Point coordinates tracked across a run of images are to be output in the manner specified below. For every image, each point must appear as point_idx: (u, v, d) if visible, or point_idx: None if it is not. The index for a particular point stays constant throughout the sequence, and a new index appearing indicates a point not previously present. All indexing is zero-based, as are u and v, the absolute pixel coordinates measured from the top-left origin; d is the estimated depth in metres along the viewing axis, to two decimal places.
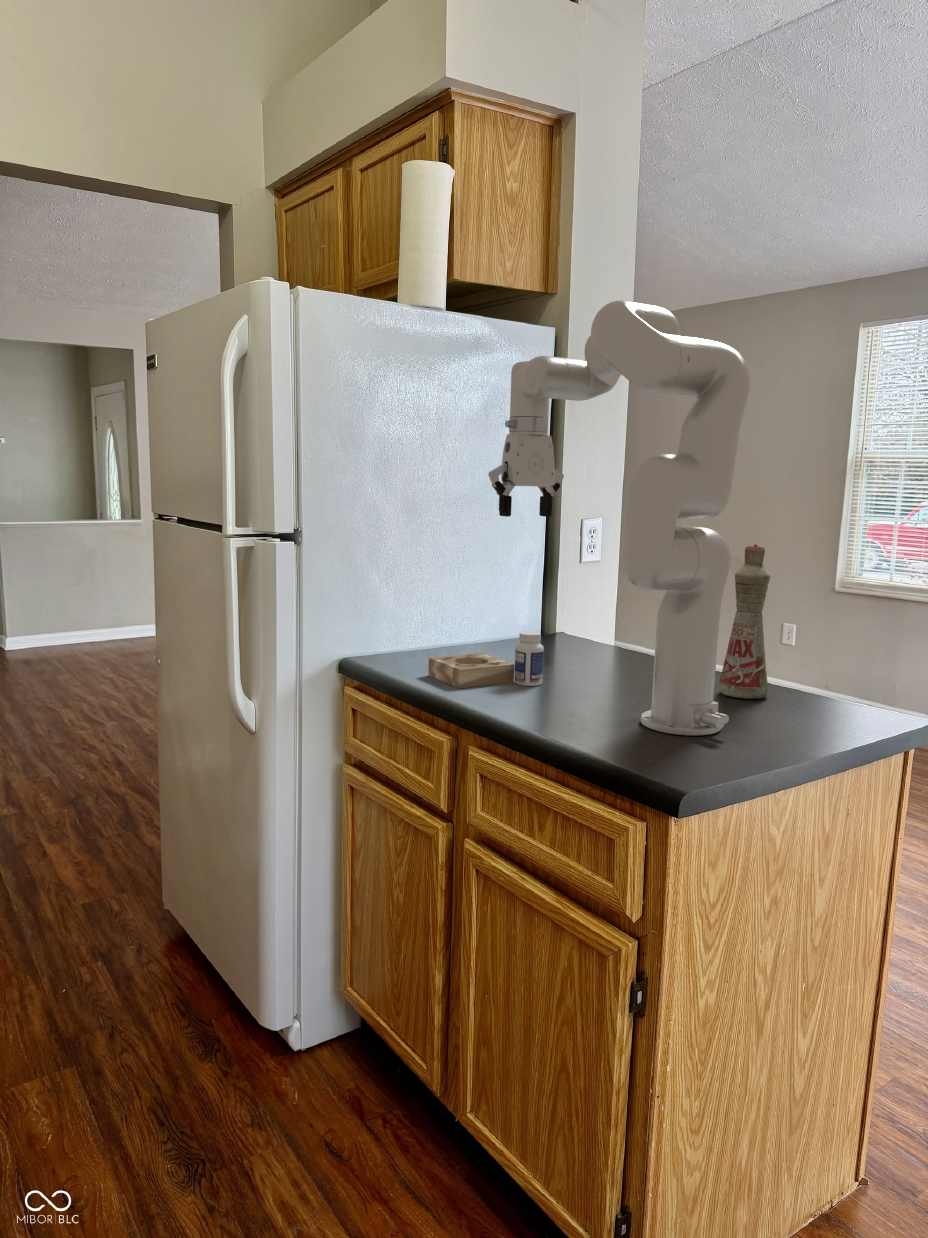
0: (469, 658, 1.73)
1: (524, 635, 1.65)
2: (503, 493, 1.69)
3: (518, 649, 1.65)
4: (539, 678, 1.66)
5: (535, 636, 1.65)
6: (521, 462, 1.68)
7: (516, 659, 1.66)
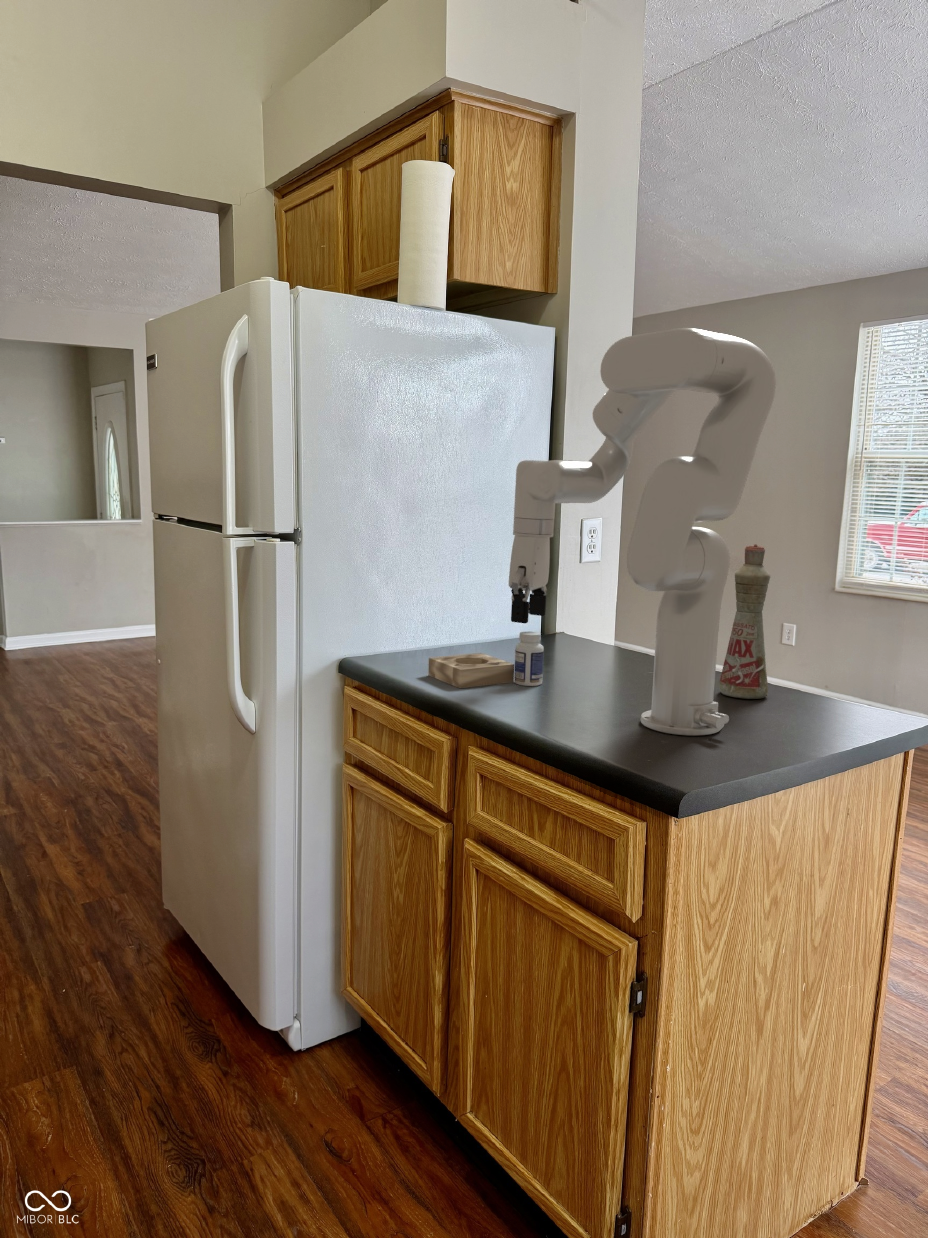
0: (469, 658, 1.73)
1: (524, 635, 1.65)
2: None
3: (518, 649, 1.65)
4: (539, 678, 1.66)
5: (535, 636, 1.65)
6: None
7: (516, 659, 1.66)
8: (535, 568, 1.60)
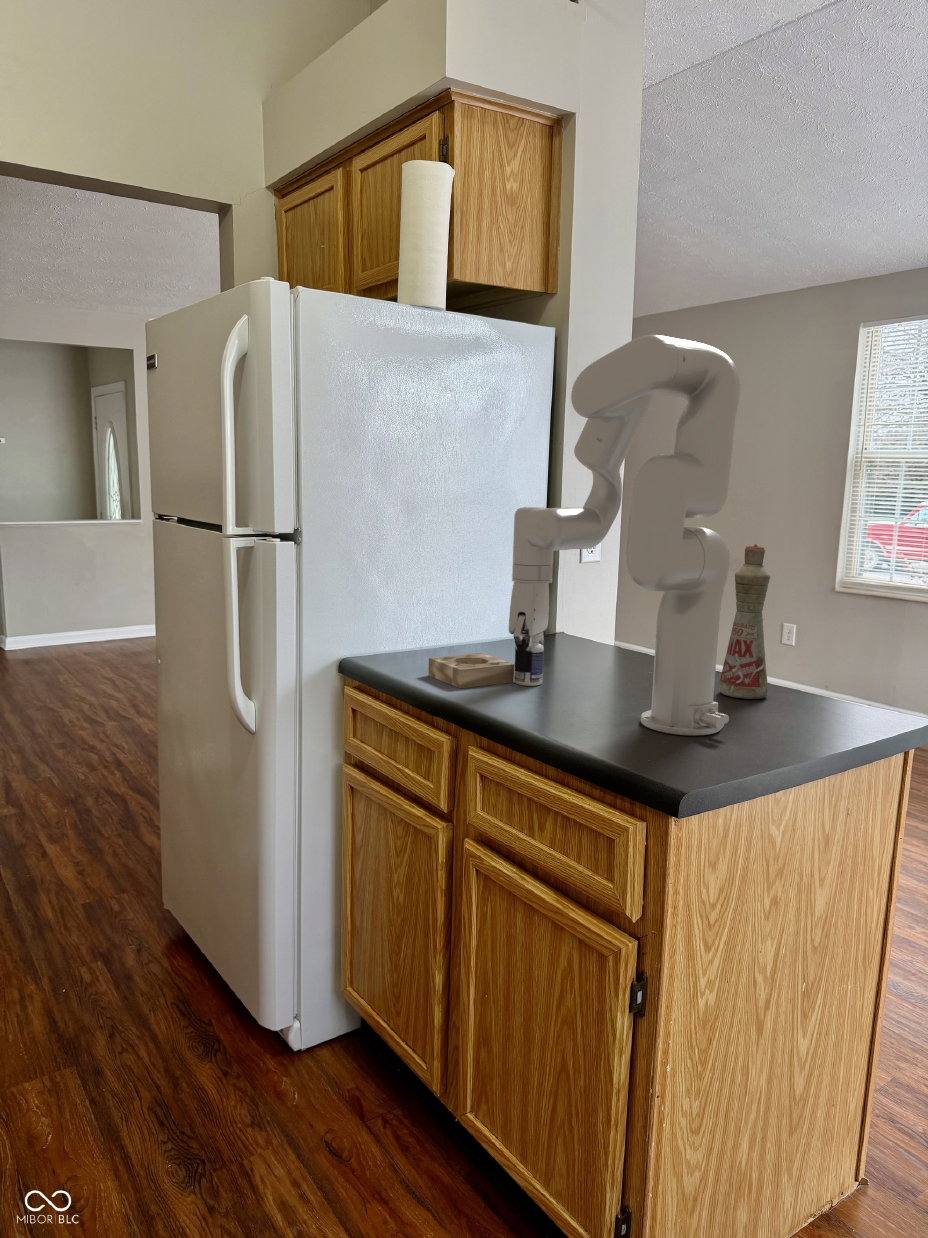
0: (469, 658, 1.73)
1: None
2: None
3: None
4: (539, 678, 1.66)
5: (535, 636, 1.65)
6: None
7: None
8: (535, 614, 1.61)
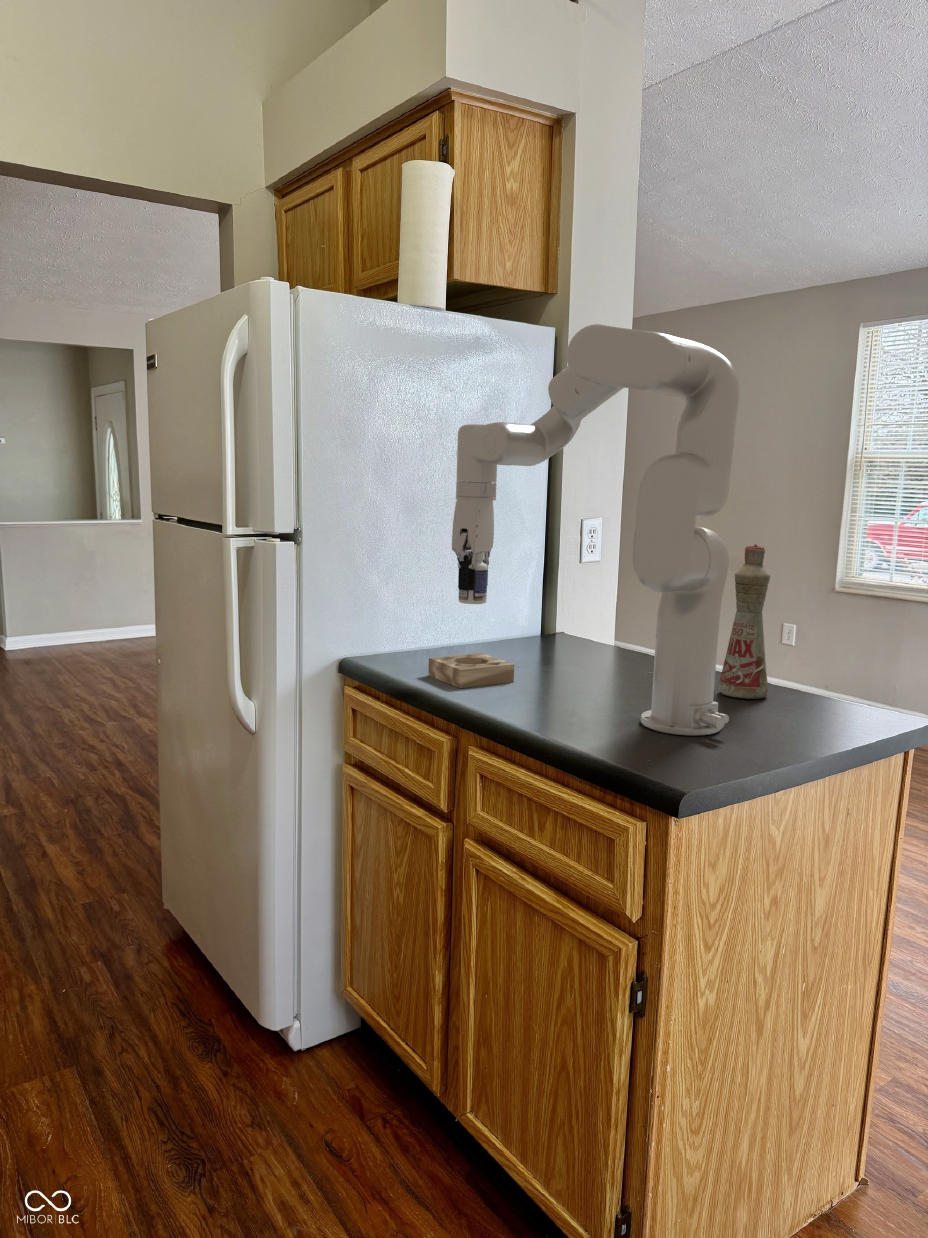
0: (469, 658, 1.73)
1: None
2: None
3: None
4: (483, 596, 1.66)
5: (478, 554, 1.65)
6: None
7: None
8: (477, 531, 1.62)
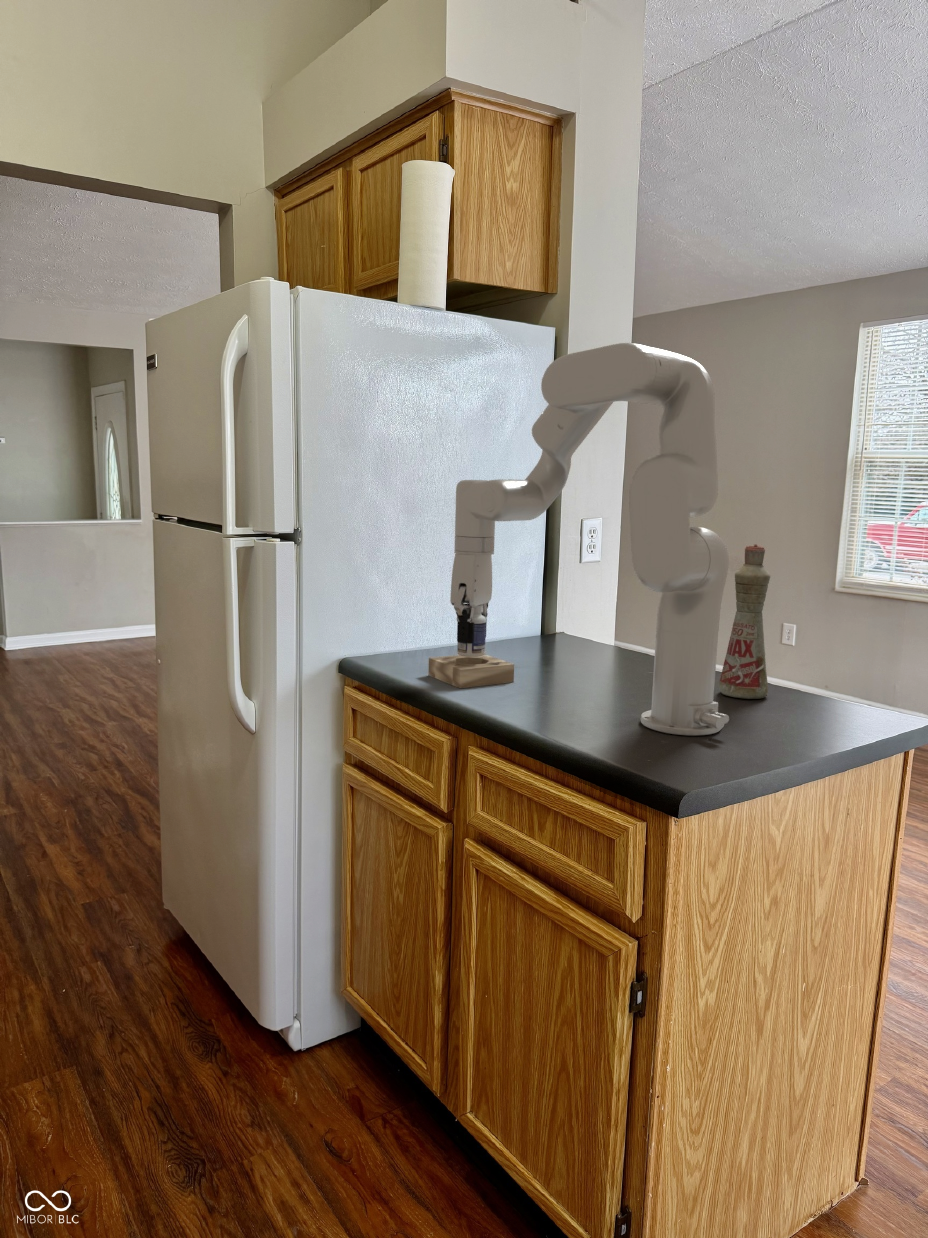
0: (469, 658, 1.73)
1: None
2: None
3: None
4: (481, 649, 1.68)
5: (477, 607, 1.67)
6: None
7: None
8: (476, 585, 1.63)
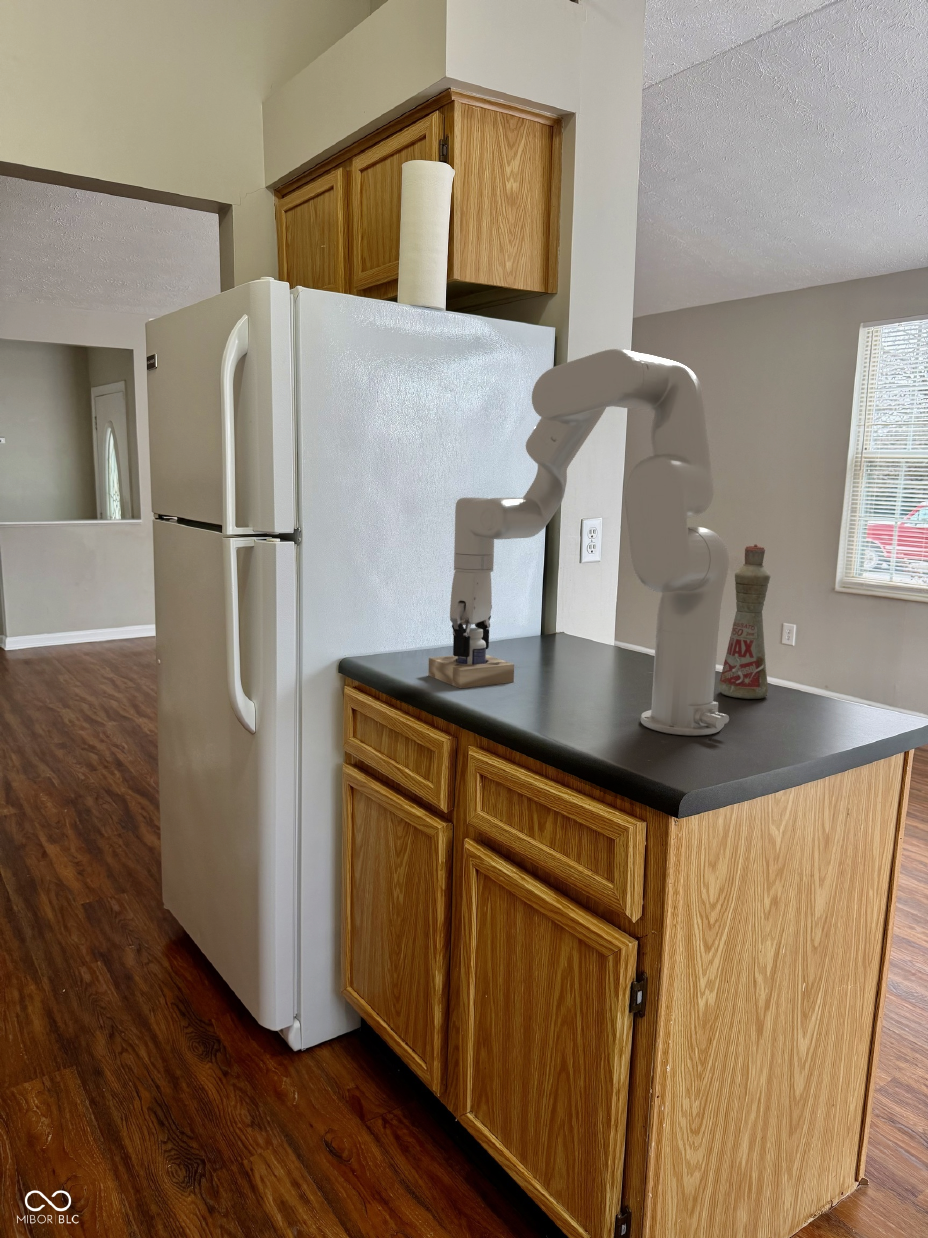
0: None
1: None
2: None
3: None
4: None
5: (477, 632, 1.67)
6: None
7: None
8: (475, 603, 1.64)
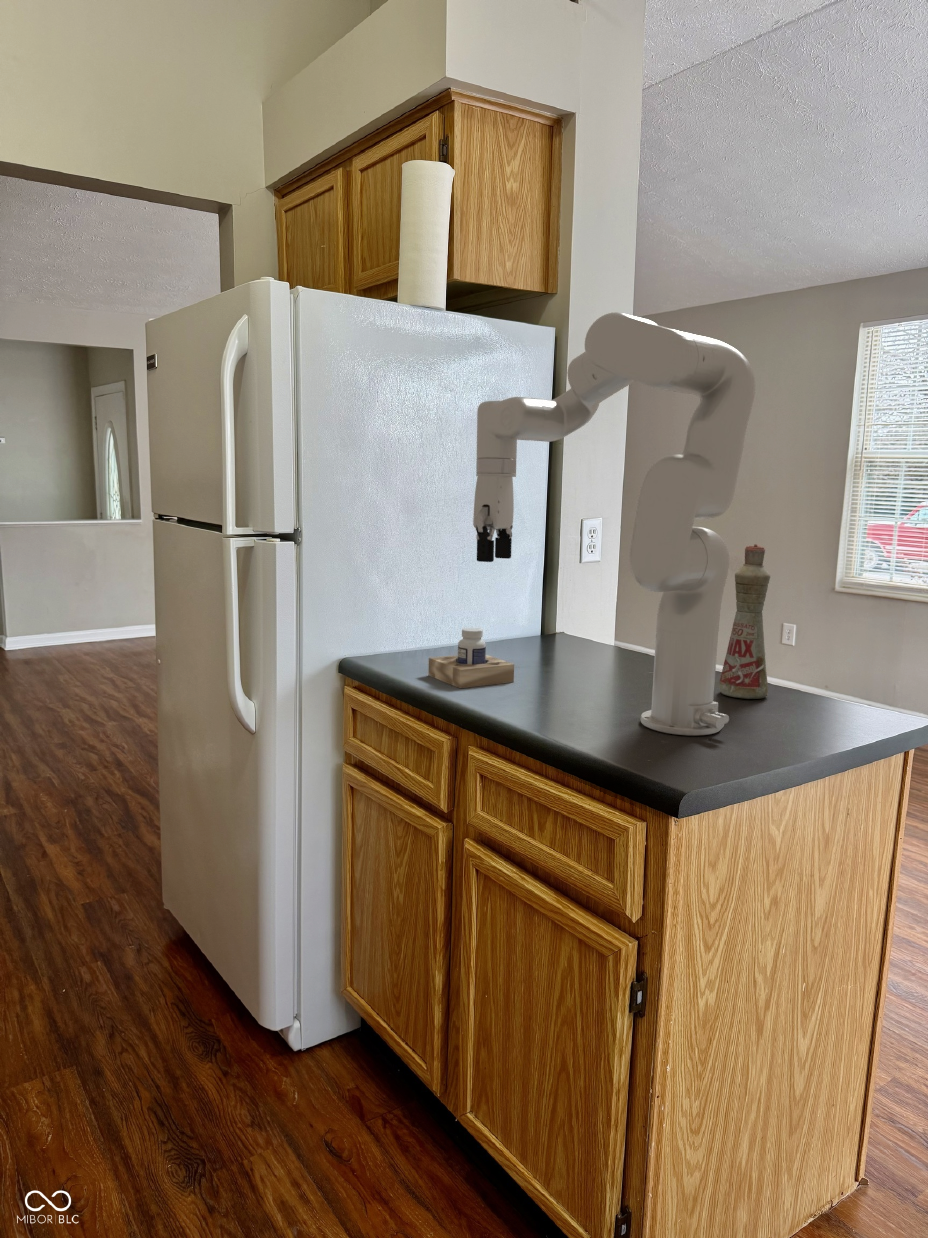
0: None
1: (466, 631, 1.67)
2: None
3: (460, 645, 1.68)
4: None
5: (476, 632, 1.67)
6: None
7: (458, 655, 1.69)
8: (499, 507, 1.62)
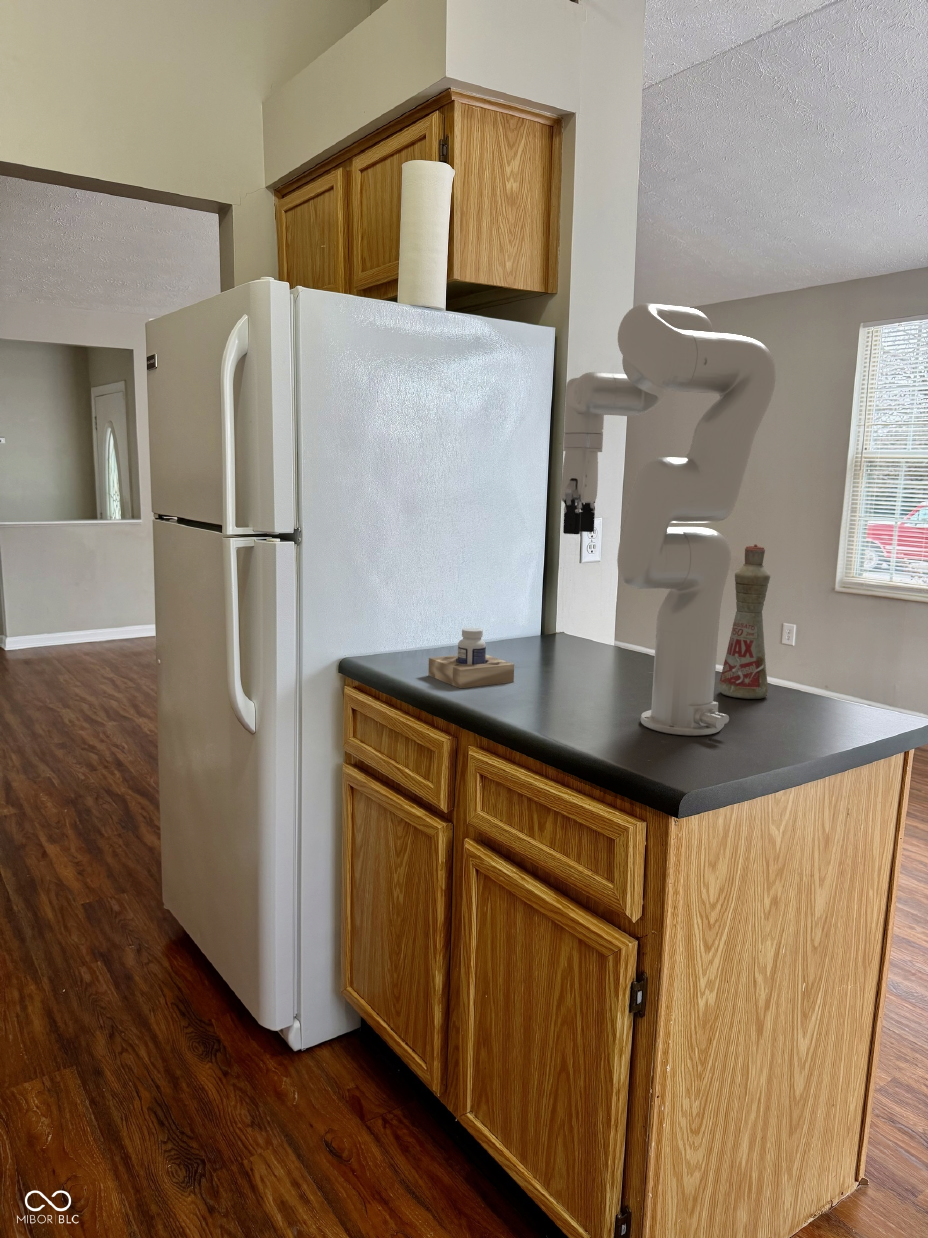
0: None
1: (466, 631, 1.67)
2: None
3: (460, 645, 1.68)
4: None
5: (477, 632, 1.67)
6: None
7: (458, 655, 1.69)
8: (586, 481, 1.67)
